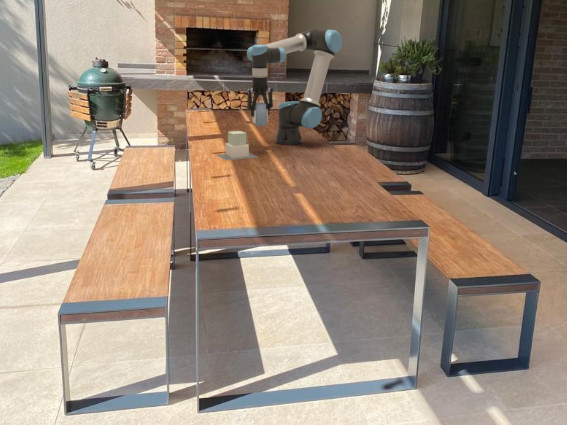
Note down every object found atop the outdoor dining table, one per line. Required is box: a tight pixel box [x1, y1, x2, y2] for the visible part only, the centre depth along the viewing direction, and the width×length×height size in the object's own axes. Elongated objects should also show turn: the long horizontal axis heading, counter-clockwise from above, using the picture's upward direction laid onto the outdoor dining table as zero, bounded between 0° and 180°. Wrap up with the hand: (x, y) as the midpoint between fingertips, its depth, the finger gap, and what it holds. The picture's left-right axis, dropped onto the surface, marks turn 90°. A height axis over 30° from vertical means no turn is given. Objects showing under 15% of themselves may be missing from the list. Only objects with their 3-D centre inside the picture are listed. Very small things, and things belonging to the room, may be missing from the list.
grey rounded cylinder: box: [253, 102, 267, 127], centre depth 329 cm, size 6×6×11 cm
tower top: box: [227, 130, 246, 146], centre depth 323 cm, size 7×7×6 cm
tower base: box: [225, 142, 250, 159], centre depth 325 cm, size 9×9×6 cm
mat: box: [216, 152, 260, 161], centre depth 326 cm, size 18×14×1 cm
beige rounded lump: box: [243, 131, 250, 146], centre depth 345 cm, size 10×10×10 cm
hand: (260, 122), depth 330 cm, fingers closed on grey rounded cylinder, 6 cm apart
